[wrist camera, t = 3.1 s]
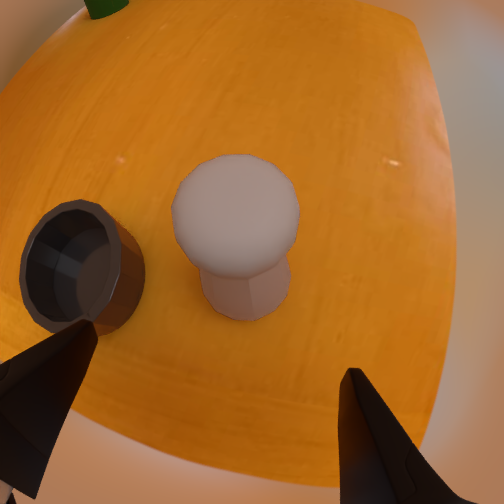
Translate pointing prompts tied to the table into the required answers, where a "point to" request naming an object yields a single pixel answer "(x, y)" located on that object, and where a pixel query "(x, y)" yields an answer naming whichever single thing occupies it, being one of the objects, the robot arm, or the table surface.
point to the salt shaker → (238, 232)
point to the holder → (81, 269)
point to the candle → (104, 7)
